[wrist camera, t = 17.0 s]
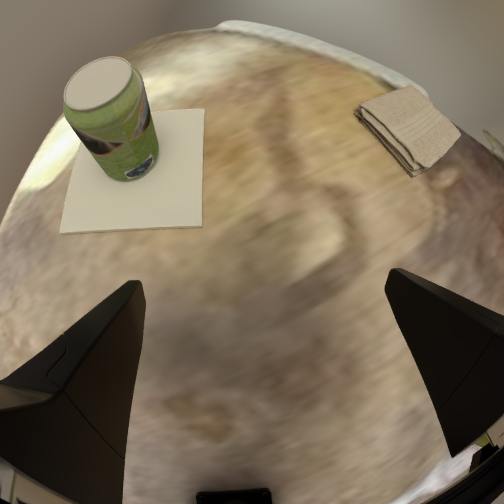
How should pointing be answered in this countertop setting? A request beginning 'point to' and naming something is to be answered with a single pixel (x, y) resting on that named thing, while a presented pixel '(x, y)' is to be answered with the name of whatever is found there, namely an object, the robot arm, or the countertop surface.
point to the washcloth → (408, 128)
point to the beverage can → (112, 117)
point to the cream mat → (142, 184)
